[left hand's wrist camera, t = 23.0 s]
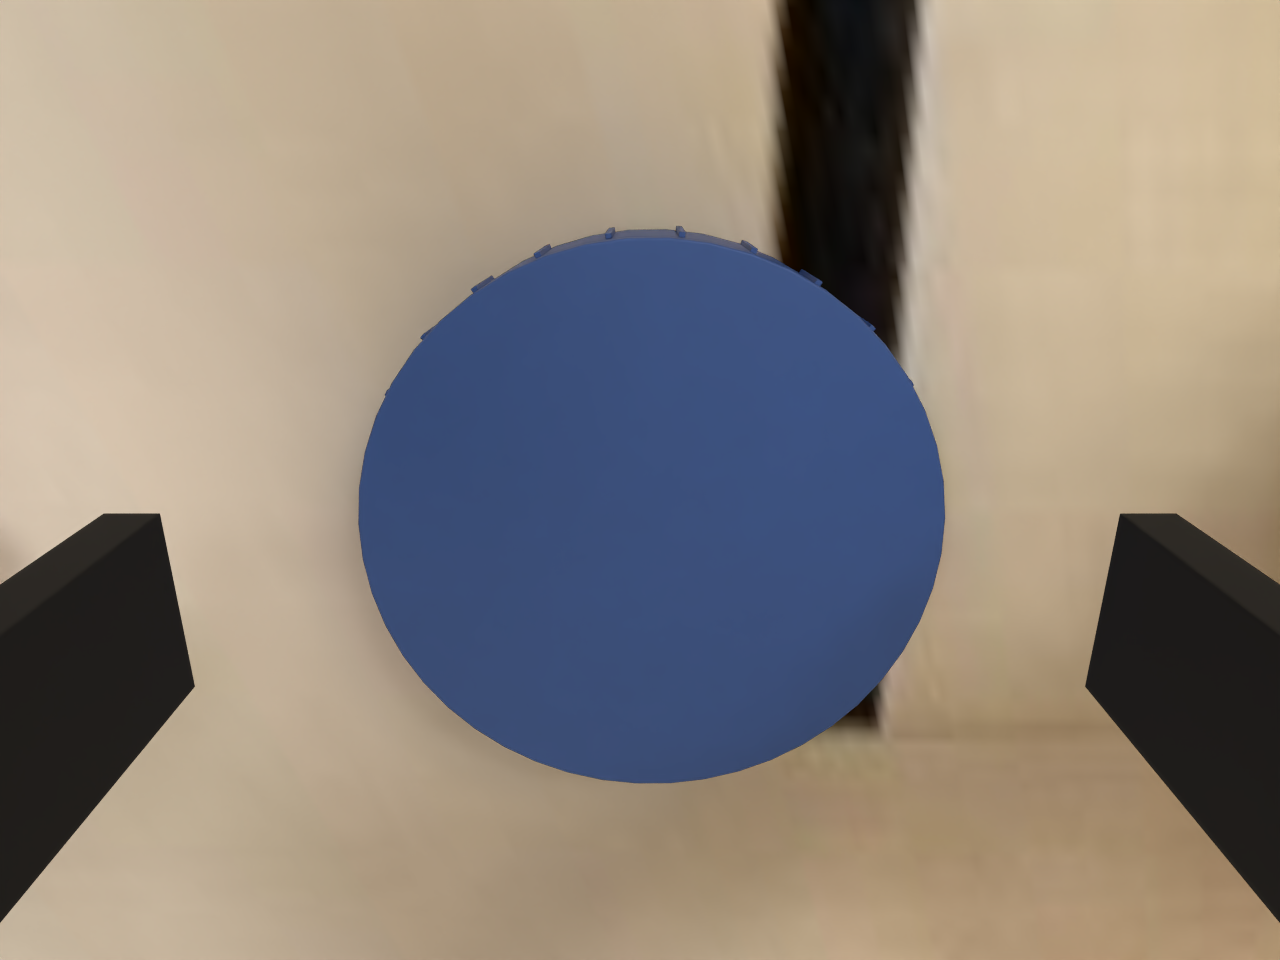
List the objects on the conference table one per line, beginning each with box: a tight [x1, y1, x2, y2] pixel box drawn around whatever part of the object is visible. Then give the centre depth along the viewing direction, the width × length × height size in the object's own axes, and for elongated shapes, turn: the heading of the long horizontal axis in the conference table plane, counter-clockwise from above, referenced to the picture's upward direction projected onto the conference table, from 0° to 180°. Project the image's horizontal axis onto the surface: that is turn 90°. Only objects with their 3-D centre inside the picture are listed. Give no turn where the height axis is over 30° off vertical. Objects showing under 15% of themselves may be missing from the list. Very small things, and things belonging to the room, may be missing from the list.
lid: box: [359, 226, 945, 783], centre depth 18 cm, size 11×11×2 cm
